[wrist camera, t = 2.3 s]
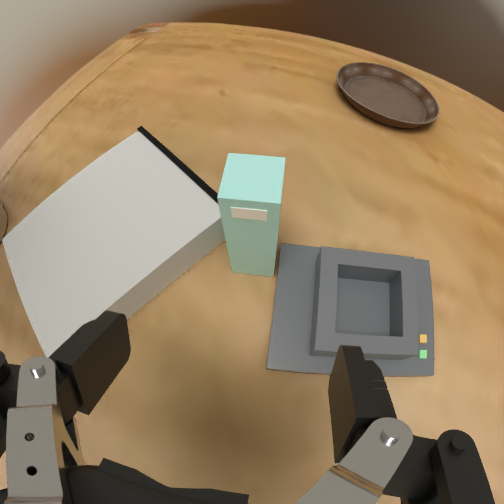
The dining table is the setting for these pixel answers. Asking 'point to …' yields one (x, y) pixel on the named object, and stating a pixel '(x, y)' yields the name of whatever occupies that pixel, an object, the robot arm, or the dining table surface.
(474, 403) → the dining table surface
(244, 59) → the dining table surface
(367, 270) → the port block
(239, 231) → the plug
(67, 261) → the disc drive
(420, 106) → the plant saucer
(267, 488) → the dining table surface
